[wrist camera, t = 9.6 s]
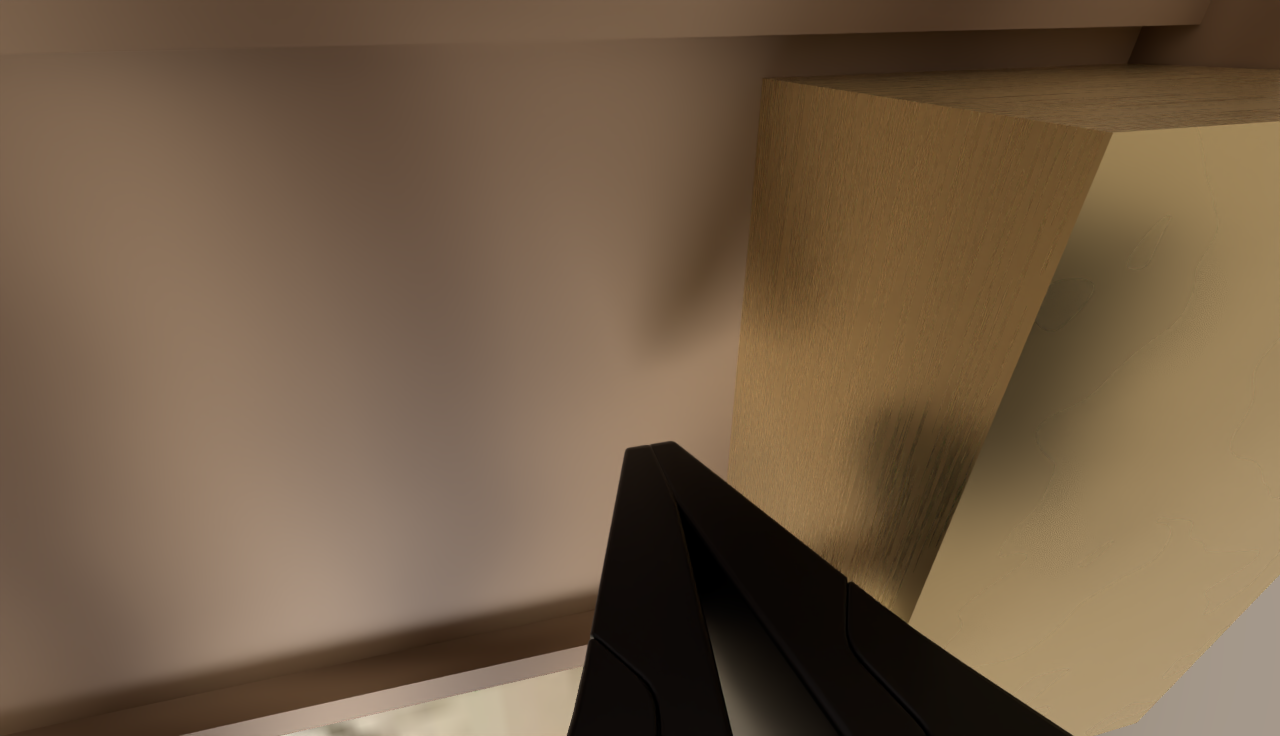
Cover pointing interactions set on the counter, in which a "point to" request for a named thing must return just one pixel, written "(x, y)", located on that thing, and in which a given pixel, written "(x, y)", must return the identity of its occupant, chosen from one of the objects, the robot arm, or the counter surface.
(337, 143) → the wooden tray
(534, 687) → the counter surface
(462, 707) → the counter surface
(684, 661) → the robot arm
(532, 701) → the counter surface
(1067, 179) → the tan wood-grain block
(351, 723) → the counter surface
